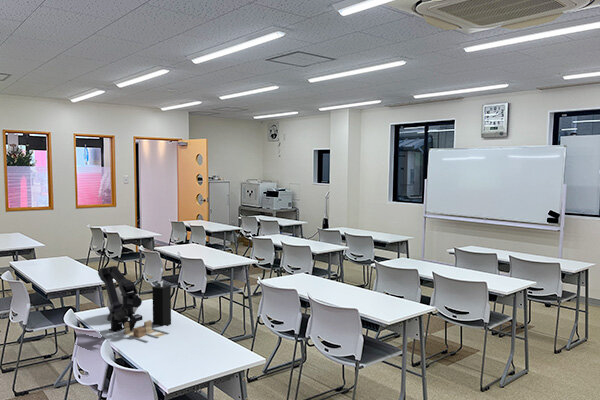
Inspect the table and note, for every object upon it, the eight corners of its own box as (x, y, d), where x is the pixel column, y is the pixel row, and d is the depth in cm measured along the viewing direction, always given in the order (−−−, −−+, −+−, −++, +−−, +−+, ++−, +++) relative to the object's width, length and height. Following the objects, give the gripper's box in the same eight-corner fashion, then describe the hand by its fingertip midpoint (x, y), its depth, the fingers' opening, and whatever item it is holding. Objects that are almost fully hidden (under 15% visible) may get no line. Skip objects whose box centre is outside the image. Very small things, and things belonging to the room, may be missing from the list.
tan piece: (123, 334, 262) (123, 323, 262) (131, 332, 266) (130, 320, 266) (138, 339, 255) (138, 327, 255) (145, 336, 259) (145, 325, 259)
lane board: (129, 339, 257) (129, 336, 257) (151, 331, 270) (151, 327, 270) (146, 345, 249) (146, 341, 249) (169, 336, 263) (169, 332, 262)
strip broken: (143, 333, 264) (143, 322, 264) (150, 331, 268) (150, 319, 268) (158, 338, 257) (158, 326, 257) (165, 335, 262) (165, 324, 261)
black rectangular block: (152, 326, 278) (152, 281, 276) (161, 322, 285) (160, 278, 283) (163, 328, 275) (162, 283, 273) (171, 324, 282) (170, 280, 280)
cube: (133, 336, 258) (133, 328, 258) (140, 333, 262) (139, 326, 261) (138, 337, 255) (138, 330, 255) (145, 335, 259) (145, 327, 259)
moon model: (138, 320, 289) (137, 289, 288) (104, 322, 284) (104, 291, 283) (141, 310, 308) (141, 281, 307) (110, 312, 304) (109, 283, 302)
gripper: (105, 304, 261) (105, 331, 262) (126, 310, 251) (126, 337, 252) (122, 300, 270) (122, 325, 271) (142, 305, 260) (143, 331, 261)
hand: (128, 330), depth 264 cm, fingers open, 5 cm apart
